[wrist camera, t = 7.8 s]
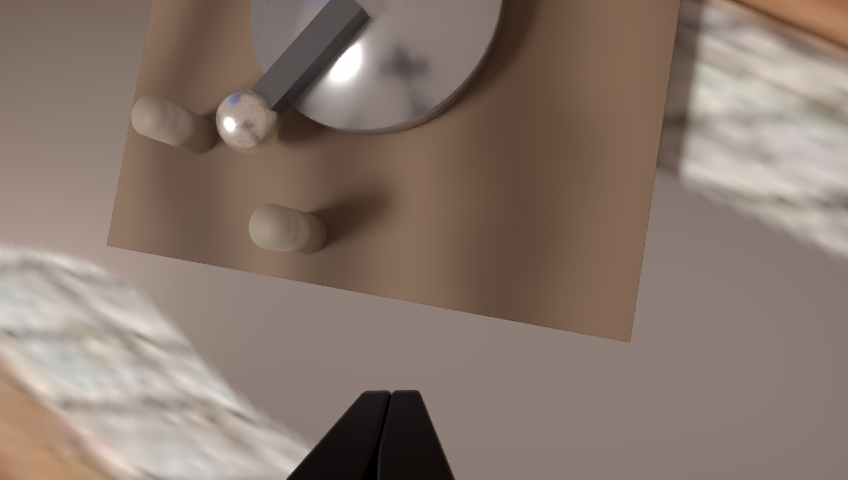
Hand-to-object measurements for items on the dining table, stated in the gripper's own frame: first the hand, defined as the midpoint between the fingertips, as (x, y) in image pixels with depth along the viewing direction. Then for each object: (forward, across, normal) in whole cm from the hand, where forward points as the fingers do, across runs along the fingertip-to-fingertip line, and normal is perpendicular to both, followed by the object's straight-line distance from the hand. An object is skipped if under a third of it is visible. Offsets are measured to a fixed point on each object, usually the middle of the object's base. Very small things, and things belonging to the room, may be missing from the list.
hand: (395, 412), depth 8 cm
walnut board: (+18, +2, -4) cm, 19 cm away
